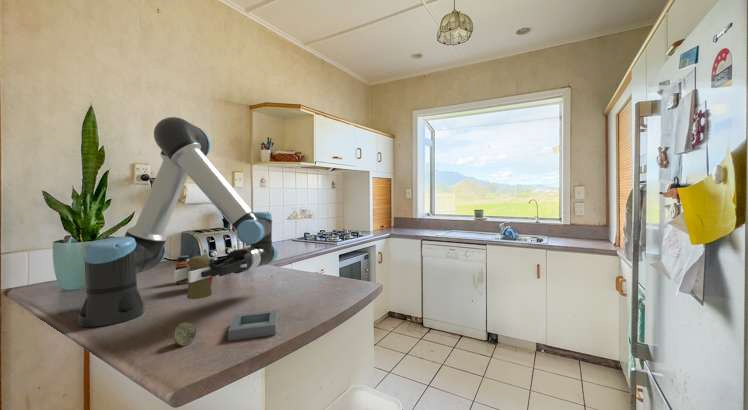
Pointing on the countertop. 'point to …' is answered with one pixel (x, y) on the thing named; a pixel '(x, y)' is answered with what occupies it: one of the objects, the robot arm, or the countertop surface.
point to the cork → (201, 286)
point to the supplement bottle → (182, 267)
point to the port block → (253, 325)
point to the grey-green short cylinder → (183, 333)
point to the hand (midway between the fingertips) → (182, 276)
